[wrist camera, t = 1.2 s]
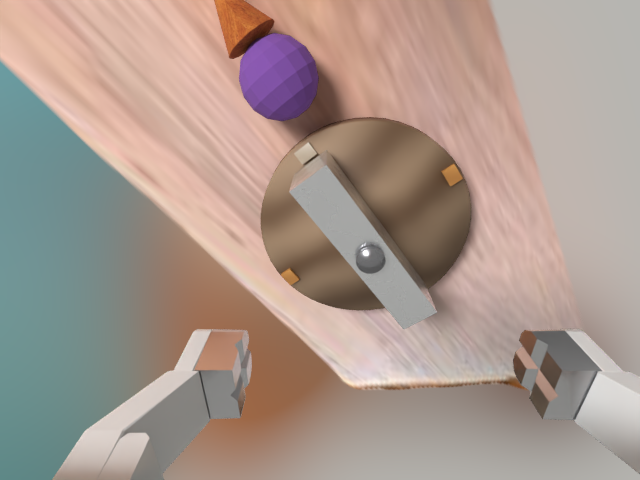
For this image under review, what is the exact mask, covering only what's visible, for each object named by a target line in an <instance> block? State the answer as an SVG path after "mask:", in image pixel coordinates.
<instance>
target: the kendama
mask: <svg viewBox="0 0 640 480" xmlns="http://www.w3.org/2000/svg"><path fill="white" fill-rule="evenodd" d="M214 1H215V5H216V9H217V12H218V16H219V20H220V24H221V28H222V31H223V35H224V39H225V43H226V47H227V50H228V54H229V58H231V59H234V58H236V57H239V56H241V55H242V54H244V53H245V54H244V56H243V58H242V59H241V63H240V75H239V82H240V85H241V89H242V92H243V95H244V98H245V99H246V100H247V102H248V103H249V104H250V106H251V107H252V108H253V110H254V111H256V112H257V113H259V114H261V115H262V116H264V117H265V118H267V119H273V120H279V121H284V120H288V119H292V118H296V117H298V116H299V115H300V114H302V113H303V112H304V111H306V110H307V109H308V108H309V106H310V105H311V103H312V101H313V99H314V98H315V96H316V93H317V86H318V79H319V77H318V72H317V68H316V63H315V60H314V59H313V57H312V56H311V54H310V53H309V51H308V50H307V48H306V47H305V46H304V45H302V44H301V43H300V42H298V41H297V40H295V39H294V38H292V37H291V36H288V35H283V34H277V33H273V34H270V35H267V36H265V35H266V34H267V33H268V32H269V31H270V29H271V28H272V26H273V24H274V20H273V19H271V18H270V17H268V16H267V15H265V14H264V13H262V12H260V11H259V10H257V9H256V8H254V7H253V6H251V5H250V4H248V3H247V2H245V1H244V0H214Z"/></svg>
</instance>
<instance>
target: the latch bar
mask: <svg viewBox="0 0 640 480" xmlns="http://www.w3.org/2000/svg"><path fill="white" fill-rule="evenodd" d="M289 192H290V193H291V195H292V196H293V197H294V198H295V199H296V201H297V202H298V203H299V204H300V205H301V207H302V208H303V209H304V210H305V211H306V213H307V214H308V215H309V216H310V217H311V219H312V220H313V221H314V222H315V223H316V225H317V226H318V227H319V228H320V229H321V231H322V232H323V233H324V234H325V236H326V237H327V238H328V239H329V240H330V242H331V243H332V244H333V245H334V246H335V248H336V249H337V250H338V251H339V252H340V254H341V255H342V256H343V257H344V258H345V260H346V261H347V262H348V263H349V264H350V266H351V267H352V268H353V269H354V270H355V272H356V273H357V274H358V275H359V276H360V278H361V279H362V280H363V281H364V282H365V284H366V285H367V286H368V287H369V288H370V290H371V291H372V292H373V293H374V294H375V296H376V297H377V298H378V299H379V300H380V302H381V303H382V304H383V305H384V306H385V308H386V309H387V310H388V311H389V312H390V314H391V315H392V316H393V317H394V318H395V320H396V321H397V322H398V323H399V324H400V326H401V327H402V328H403V329H405V328H407V327H409V326H411V325H413V324H415V323H417V322H419V321H421V320H423V319H425V318H427V317H429V316H431V315H433V314H435V313H437V311H436V308H435V306H434V303H433V301H432V299H431V296H430V294H429V291H428V289H427V287H426V284H425V283H424V281H423V280H422V279H421V277H420V276H419V275H418V273H417V272H416V270H415V269H414V268H413V266H412V265H411V264H410V262H409V261H408V260H407V258H406V257H405V255H404V254H403V253H402V251H401V250H400V249H399V247H398V246H397V245H396V243H395V242H394V241H393V239H392V238H391V236H390V235H389V234H388V232H387V231H386V230H385V228H384V227H383V226H382V224H381V223H380V221H379V220H378V219H377V217H376V216H375V215H374V213H373V212H372V211H371V209H370V208H369V207H368V205H367V204H366V202H365V201H364V200H363V198H362V197H361V196H360V194H359V193H358V192H357V190H356V189H355V187H354V186H353V185H352V183H351V182H350V181H349V179H348V178H347V177H346V175H345V174H344V172H343V171H342V170H341V168H340V167H339V166H338V164H337V163H336V162H335V160H334V159H333V158H332V156H331V155H330V153H329V152H328V151H327V150H326V151H324V152H323V153H321V154H320V155H319V156H317V157H316V158H315V159H313V160H312V161H311V162H309V163H308V164H307V165H305V166H304V167H303V168H301V169H300V170H299V171H297V172H296V173H294V176H293V180H292V183H291V187H290V191H289Z"/></svg>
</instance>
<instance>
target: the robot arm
mask: <svg viewBox="0 0 640 480" xmlns="http://www.w3.org/2000/svg"><path fill="white" fill-rule="evenodd" d="M519 341H520V343H521V344H522V347H521V348H520V349H518V350H517V351H516V352H515V355H514V359H513V365H514V372H515V374H516V377H517V379H518V381H519V382H520V384H521V385H522V386H523V387H525V388H526V389H528V390H529V391H531V392H530V400H531V401H532V403H533V405H534V406H535V408H536V410H537V411H538V413H539V414H540V416H541V417H542V419H555V420H557V419H558V420H575V422H576V423H577V424H578V425H579V426H581V427H582V428H583V429H584V430H585V431H587V432H588V433H589V434H590V435H592V436H593V437H594V438H595V439H596V440H598V441H599V442H600V443H602V444H603V445H604V446H605V447H607V448H608V449H609V450H610V451H611V452H613V453H614V454H615V455H617V456H618V457H619V458H620V459H621V460H623V461H624V462H625V463H626V464H628V465H629V466H630V467H631V468H633V469H634V470H635V471H636V472H638V473H639V474H640V377H639V376H637V375H635V374H633V373H631V372H624V371H623V370H622V369H621V368H620V367H619V366H618V365H617V364H616V363H615V362H614V361H613V360H612V359H611V358H610V357H609V356H608V355H607V354H606V353H605V352H604V351H603V350H602V349H601V348H600V347H599V346H598V345H597V344H596V343H595V342H594V341H593V340H592V339H591V338H590V337H589V336H588V335H587V334H586V333H585V332H583V331H581V330H579V329H560V330H524V331H523V332H522V333H521V336H520V339H519ZM248 343H249V337H248V332H247V331H246V330H223V329H222V330H221V329H213V330H207V329H197V330H195V331H194V332H193V334H192V335H191V338H190V339H189V341H188V343H187V346H186V347H185V349H184V351H183V354H182V355H181V357H180V359H179V361H178V363H177V365H176V367H175V369H174V371H168V372H166V373H165V374H163V375H162V376H161V377H159V378H158V379H156V380H155V381H154V382H152V383H151V384H150V385H148V386H147V387H145V388H144V389H143V390H142V391H140V392H138V393H137V394H136V395H134V396H133V397H132V398H130V399H129V400H127V401H126V402H124V403H123V404H122V405H120V406H119V407H118V408H116V409H115V410H113V411H112V412H110V413H109V414H108V415H106V416H105V417H104V418H102V419H101V420H99V421H98V422H97V423H95V424H94V425H92V426H91V427H90V428H88V429H87V430H86V431H85V432H84V433H83V435H82V436H81V438H80V439H79V440H78V442H77V443H76V445H75V447H74V448H73V449H72V451H71V452H70V454H69V455H68V457H67V459H66V460H65V461H64V463H63V464H62V466H61V467H60V469H59V470H58V472H57V473H56V475H55V476H54V478H53V479H52V480H164V478H163V475H162V474H163V473H164V471H165V470H166V469H167V468H168V467H169V466H170V464H172V462H173V461H174V460H175V459H176V458H177V457H178V456H179V455H180V453H181V452H182V451H183V450H184V449H185V448H186V447H187V446H188V445H189V444H190V442H191V441H192V440H193V439H194V438H195V437H196V436H197V434H198V433H199V432H200V431H201V430H202V429H203V428H204V427H205V426H206V425H207V423H208V422H209V421H210V419H222V418H240V417H241V413H242V409H243V405H244V401H245V391H244V388H245V387H246V386H247V385H248V384H249V380H250V376H251V365H252V363H251V352H250V351H249V350H248V349H247V346H248Z"/></svg>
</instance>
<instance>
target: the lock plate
mask: <svg viewBox="0 0 640 480" xmlns="http://www.w3.org/2000/svg"><path fill="white" fill-rule="evenodd" d="M326 150H327V151H328V152H329V153H330V155H331V156H332V158H333V159H334V160H335V162H336V163H337V164H338V166H339V167H340V168H341V170H342V171H343V172H344V174H345V175H346V177H347V178H348V179H349V181H350V182H351V183H352V185H353V186H354V187H355V189H356V190H357V192H358V193H359V194H360V196H361V197H362V198H363V200H364V201H365V202H366V204H367V205H368V207H369V208H370V209H371V211H372V212H373V213H374V215H375V216H376V217H377V219H378V220H379V221H380V223H381V224H382V226H383V227H384V228H385V230H386V231H387V232H388V234H389V235H390V236H391V238H392V239H393V241H394V242H395V243H396V245H397V246H398V247H399V249H400V250H401V251H402V253H403V254H404V255H405V257H406V258H407V260H408V261H409V262H410V264H411V265H412V266H413V268H414V269H415V270H416V272H417V273H418V275H419V276H420V277H421V279H422V280H423V281H424V283H425V284H426V287H427V289H429V288H430V287H431V286H432V285H434V284H435V283H436V282H437V281H438V280H439V279H441V278H442V277H443V276H444V275H445V274H446V272H447V271H448V270H449V269H450V268H451V266H452V265H453V264H454V262H455V261H456V259H457V258H458V256H459V254H460V252H461V250H462V248H463V246H464V244H465V241H466V238H467V235H468V232H469V226H470V220H471V203H470V195H469V191H468V188H467V184H466V181H465V179H464V177H463V175H462V172H461V170H460V169H459V167H458V166H457V164H456V163H455V161H454V160H453V158H452V157H451V156H450V155H449V154H448V153H447V152H446V151H445V150H444V149H443V148H442V147H441V146H440V145H439V144H438V143H436V142H435V141H434V140H433V139H431V138H430V137H429V136H427V135H426V134H425V133H423V132H421V131H419V130H418V129H416V128H414V127H412V126H409V125H407V124H404V123H401V122H398V121H394V120H390V119H385V118H373V117H367V118H353V119H348V120H343V121H339V122H336V123H333V124H330V125H327V126H325V127H323V128H321V129H319V130H317V131H315V132H313V133H311V134H310V135H308V136H307V137H305V138H304V139H302V140H301V141H300V142H299V143H298V144H297V145H295V146H294V147H293V148H292V149H291V150H290V151H289V152H288V153H287V155H286V156H285V157H284V158H283V159H282V161H281V162H280V164H279V165H278V167H277V169H276V170H275V172H274V174H273V176H272V178H271V181H270V183H269V185H268V187H267V190H266V193H265V196H264V199H263V203H262V210H261V231H262V238H263V242H264V245H265V249H266V251H267V254H268V256H269V258H270V260H271V262H272V263H273V265H274V267H275V268H276V270H277V271H278V272H279V274H280V275H281V276H282V277H283V278H284V279H285V280H286V281H287V282H288V283H289V284H290V285H291V286H292V287H293V288H295V289H296V290H297V291H299V292H300V293H302V294H303V295H305V296H307V297H309V298H310V299H312V300H315V301H317V302H319V303H322V304H325V305H328V306H332V307H335V308H341V309H348V310H373V309H380V308H385V306H384V305H383V304H382V303H381V302H380V300H379V299H378V298H377V297H376V296H375V294H374V293H373V292H372V291H371V290H370V288H369V287H368V286H367V285H366V284H365V282H364V281H363V280H362V279H361V278H360V276H359V275H358V274H357V273H356V272H355V270H354V269H353V268H352V267H351V266H350V264H349V263H348V262H347V261H346V260H345V258H344V257H343V256H342V255H341V254H340V252H339V251H338V250H337V249H336V248H335V246H334V245H333V244H332V243H331V242H330V240H329V239H328V238H327V237H326V236H325V234H324V233H323V232H322V231H321V229H320V228H319V227H318V226H317V225H316V223H315V222H314V221H313V220H312V219H311V217H310V216H309V215H308V214H307V213H306V211H305V210H304V209H303V208H302V207H301V205H300V204H299V203H298V202H297V201H296V199H295V198H294V197H293V196H292V195H291V193H290V192H289V191H290V187H291V183H292V180H293V176H294V173H296V172H297V171H299V170H300V169H301V168H303V167H304V166H305V165H307V164H308V163H309V162H311V161H312V160H313V159H315V158H316V157H317V156H319V155H320V154H321V153H323V152H324V151H326Z"/></svg>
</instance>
